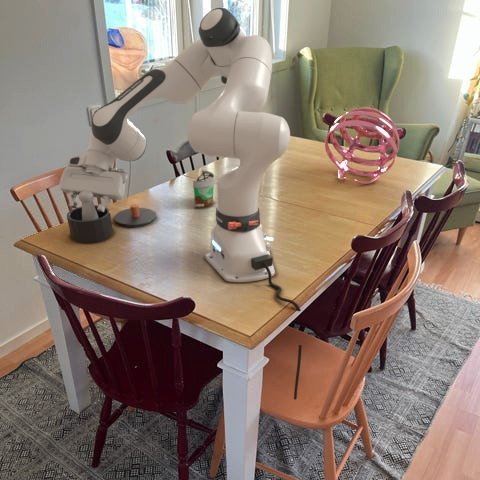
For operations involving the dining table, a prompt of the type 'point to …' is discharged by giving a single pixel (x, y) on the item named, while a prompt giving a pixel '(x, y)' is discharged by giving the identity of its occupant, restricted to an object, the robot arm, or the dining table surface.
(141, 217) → the canister lid
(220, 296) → the dining table surface
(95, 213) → the salt shaker
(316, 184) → the dining table surface
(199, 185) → the food container
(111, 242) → the dining table surface
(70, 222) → the canister
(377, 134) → the pink ring sphere sculpture
